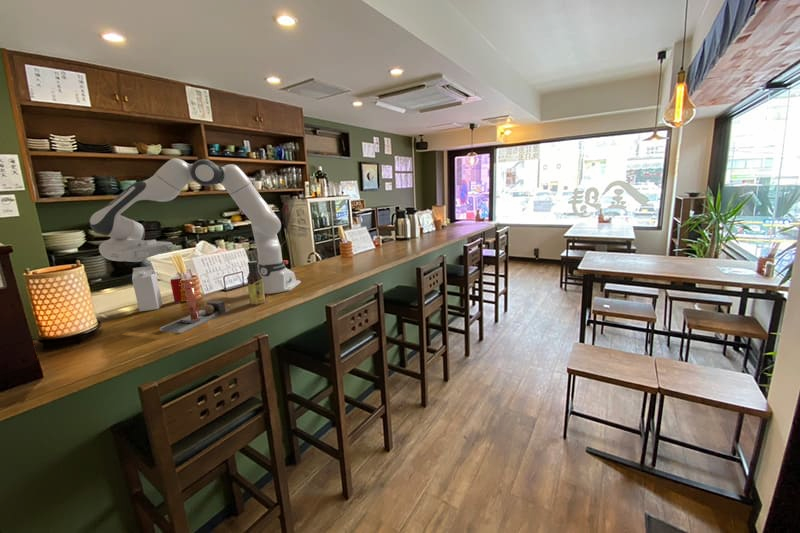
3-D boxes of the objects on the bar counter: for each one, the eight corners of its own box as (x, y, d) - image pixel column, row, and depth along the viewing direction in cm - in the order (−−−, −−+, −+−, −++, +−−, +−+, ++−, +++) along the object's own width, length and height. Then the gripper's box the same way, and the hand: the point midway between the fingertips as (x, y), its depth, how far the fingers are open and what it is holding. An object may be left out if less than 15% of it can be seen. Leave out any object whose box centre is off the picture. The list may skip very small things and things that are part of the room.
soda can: (183, 303, 162) (178, 278, 159) (172, 303, 162) (166, 278, 159) (190, 299, 167) (186, 275, 164) (179, 299, 167) (174, 275, 165)
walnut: (209, 312, 145) (207, 303, 144) (217, 312, 143) (215, 303, 143) (201, 315, 141) (199, 306, 140) (209, 316, 140) (207, 307, 139)
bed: (212, 310, 150) (210, 299, 149) (231, 312, 147) (229, 300, 146) (160, 334, 128) (157, 320, 127) (181, 336, 125) (178, 322, 124)
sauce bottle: (260, 308, 150) (253, 263, 146) (247, 308, 151) (240, 263, 147) (268, 303, 156) (262, 260, 152) (256, 302, 158) (250, 260, 153)
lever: (197, 315, 141) (189, 278, 137) (210, 316, 139) (203, 279, 135) (181, 322, 134) (173, 283, 131) (196, 323, 132) (188, 284, 129)
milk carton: (144, 306, 159) (135, 266, 155) (162, 304, 161) (154, 264, 157) (139, 311, 153) (129, 269, 148) (158, 309, 155) (149, 267, 150)
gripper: (105, 248, 130) (132, 248, 126) (156, 239, 149) (181, 239, 145) (109, 264, 132) (135, 265, 127) (159, 253, 151) (184, 254, 146)
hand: (160, 251), depth 136 cm, fingers open, 8 cm apart
